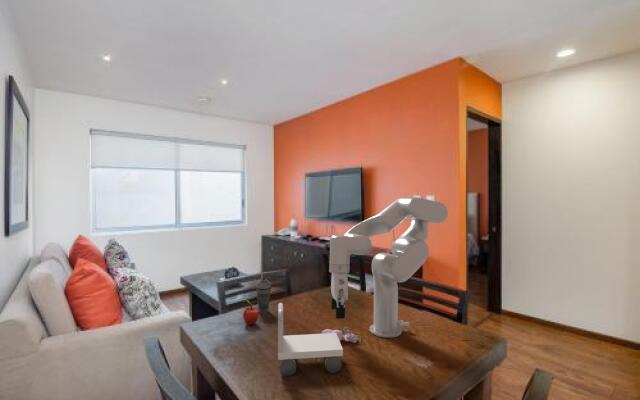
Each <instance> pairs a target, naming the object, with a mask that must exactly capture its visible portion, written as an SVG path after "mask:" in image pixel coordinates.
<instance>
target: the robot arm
mask: <svg viewBox="0 0 640 400" xmlns="http://www.w3.org/2000/svg"><path fill="white" fill-rule="evenodd" d="M448 215H449V210H448V208H447V205H445V204H444V203H442V202H440V201H437V200H432V199H431V200H430V199H427V198H426V199H425V198H423V197H415V196H413V197H412V196H403V197H402V196H401V197H398V198H397V199H395V200H394V201H392V203H390V204H389V205H388V206H387V207H385V208H384V209H382V210H381V211H380V212H378V213H377V214H375V215H374V216H372V217H369V218H367V219H365V220H363V221H360V222H359V223H357V224H356V225H354V226H353V227H351V228H350V229H348V231H346V233H344V234H333V235H331V237H330V240H329V242H330V243H329V267H328V268H329V269H328V272H329V273H331V281H330V282H331V284H330V288H331V289H330V291H331V295H332V296H331V310H335V319H345V318H346V303H345V301H348V300H349V282H348V281H349V280H348V278H349V277H348V274H349V273H350V260H351V258H350V256H351V255H357V256H363V255H368V253H370V252H371V250H372V246H373V243H372V241H371V239H370V238H372V237H373V236H378V235H383V234H387V233H390V232H392V231H393V230H394V229H395V228H396V227H398V226H399V225H401V223H403V221H406V220H407V219H411V220H410V225H409V226H408V228H407V229H406V230H405V231H404V232H403V233H402V234H401V235H400V236H398V238H396V240H394V242H393V243H392V245H391V248H390V249H391V253H388V252H379V253H377V254H376V255H374V256H373V258H372V260H371V272H372V273H371V274H372V276H373V277H372V278H373V324H371V325H370V326H369V331H370V333H371V334H372V335H374V336H376V337H379V338H388V339H389V338H391V339H392V338H397V337H399V336H401V335H402V331H403V330H402V329H403V328H410V327H411V326H410V322H409V321H404V320H399V319H398V318H399V317H398V314H399V311H398V310H399V309H398V306H399V305H398V303H399V302H398V301H399V298H398V297H399V291H398V290H399V287H398V283H404V282H406V281H408V280H409V279H410V278H411V277H412V276H413V275H414V274H415V273H416V272H417V271H418V270H419V269H420V268H421V267H422V266H423V265H424V264H425V262H426V261H427V259H428V257H429V255H430V247H429V245H428V243H427V242H426V240H427V239H428V236H429V227H428V226H429V225H428V223H431V224H432V223H433V224H440V223H443V222H445V221H446V220H447V218H448Z"/></svg>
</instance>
